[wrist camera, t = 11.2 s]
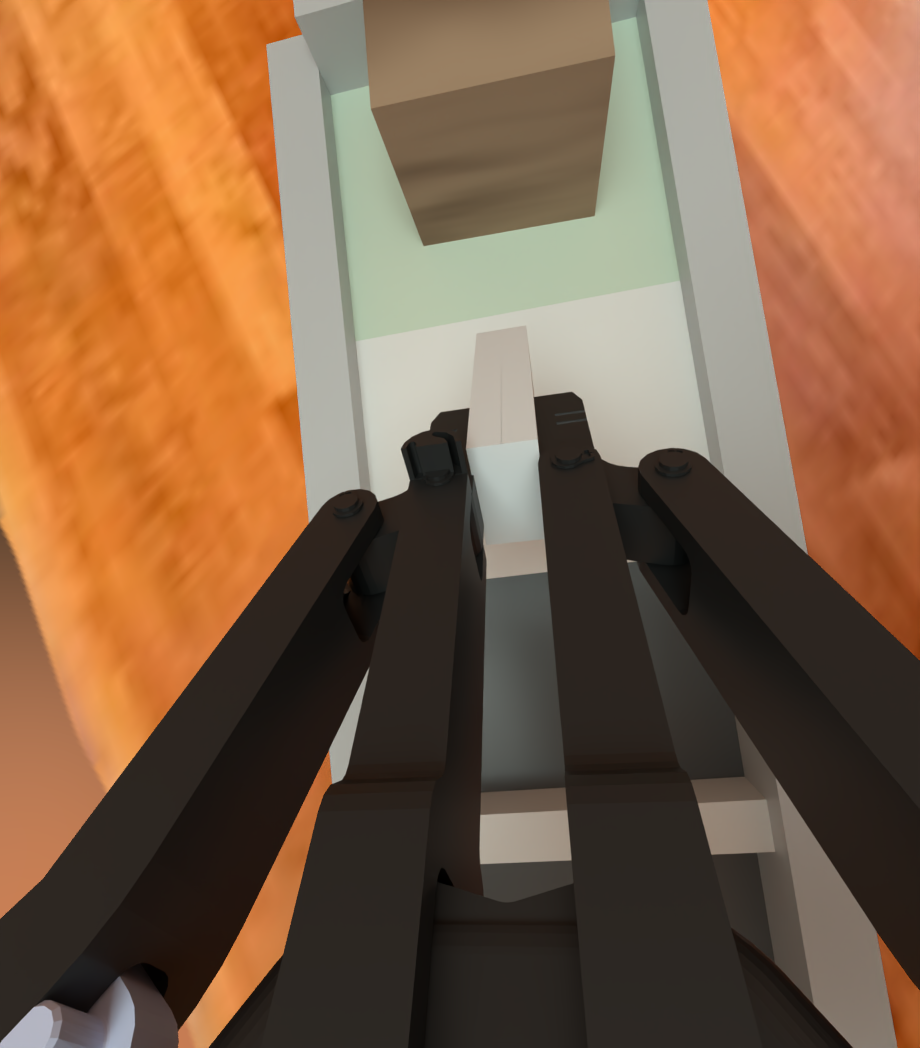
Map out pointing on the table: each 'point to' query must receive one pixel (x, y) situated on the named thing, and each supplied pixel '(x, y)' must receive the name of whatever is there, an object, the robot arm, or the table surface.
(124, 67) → the table surface
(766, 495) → the track
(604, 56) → the walnut block
